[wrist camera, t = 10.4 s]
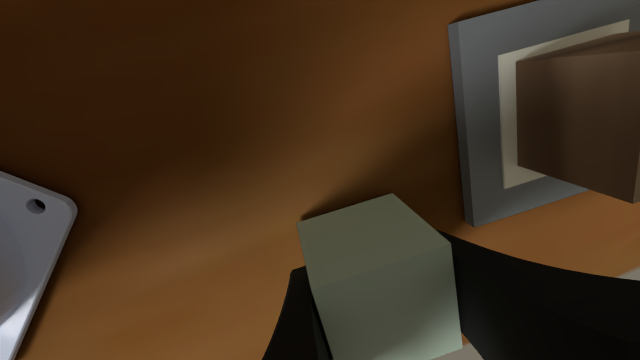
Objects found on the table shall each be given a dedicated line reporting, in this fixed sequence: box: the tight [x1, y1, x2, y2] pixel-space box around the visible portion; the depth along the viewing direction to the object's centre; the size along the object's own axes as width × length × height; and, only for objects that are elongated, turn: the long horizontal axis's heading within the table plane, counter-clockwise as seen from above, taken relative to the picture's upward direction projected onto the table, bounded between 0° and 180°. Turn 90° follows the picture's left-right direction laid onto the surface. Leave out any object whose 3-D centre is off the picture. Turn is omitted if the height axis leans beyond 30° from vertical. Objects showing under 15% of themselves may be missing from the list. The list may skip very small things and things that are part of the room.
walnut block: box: [516, 30, 640, 204], centre depth 10 cm, size 4×4×4 cm
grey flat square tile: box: [448, 0, 640, 227], centre depth 12 cm, size 8×8×1 cm
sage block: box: [296, 193, 463, 360], centre depth 11 cm, size 4×4×4 cm
